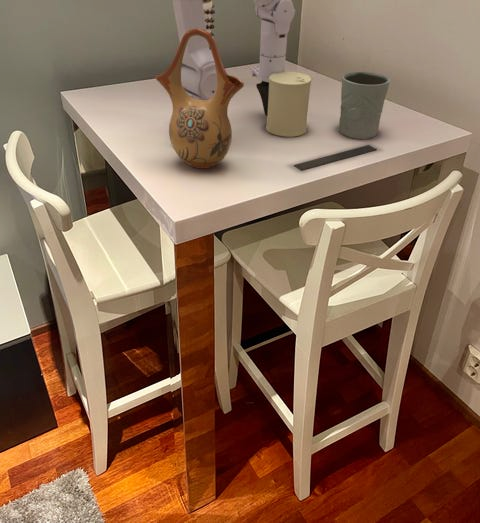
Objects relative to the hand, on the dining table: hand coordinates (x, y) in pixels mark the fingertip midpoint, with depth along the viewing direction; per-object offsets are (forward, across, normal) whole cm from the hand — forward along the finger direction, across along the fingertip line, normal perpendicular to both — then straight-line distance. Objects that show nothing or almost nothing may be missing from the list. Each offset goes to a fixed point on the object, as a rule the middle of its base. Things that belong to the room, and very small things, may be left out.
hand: (269, 114), depth 122 cm
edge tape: (+1, -24, 0) cm, 24 cm away
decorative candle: (+1, +34, 0) cm, 34 cm away
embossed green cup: (+1, -16, -13) cm, 21 cm away
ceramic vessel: (+1, -14, +26) cm, 29 cm away
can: (+1, -7, 0) cm, 7 cm away
